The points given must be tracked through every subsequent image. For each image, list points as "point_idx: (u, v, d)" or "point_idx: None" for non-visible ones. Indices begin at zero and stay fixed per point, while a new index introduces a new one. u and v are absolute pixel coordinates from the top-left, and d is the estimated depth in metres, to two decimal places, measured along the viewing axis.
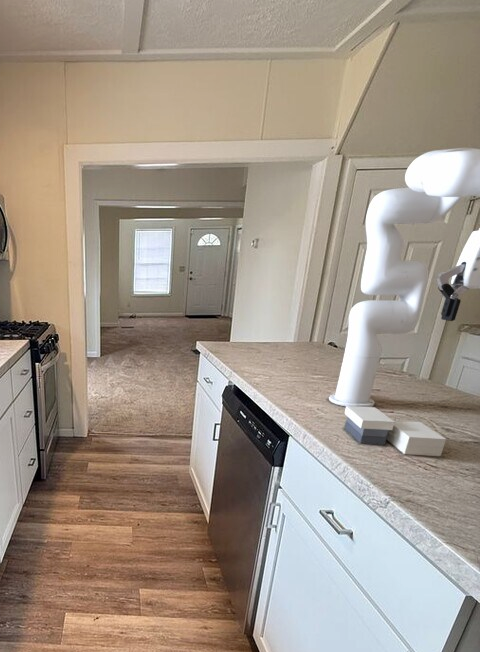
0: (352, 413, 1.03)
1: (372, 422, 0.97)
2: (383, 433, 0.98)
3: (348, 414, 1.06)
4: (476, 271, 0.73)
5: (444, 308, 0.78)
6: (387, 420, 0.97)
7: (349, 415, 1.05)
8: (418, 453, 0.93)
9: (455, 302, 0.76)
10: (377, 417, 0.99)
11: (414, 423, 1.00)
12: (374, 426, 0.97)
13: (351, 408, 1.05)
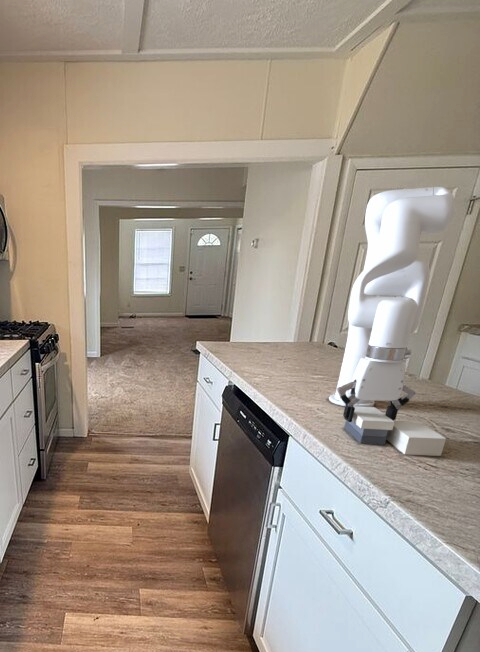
0: None
1: (372, 422, 0.97)
2: (383, 433, 0.98)
3: None
4: (363, 388, 0.97)
5: (344, 411, 1.02)
6: (387, 420, 0.97)
7: None
8: (418, 453, 0.93)
9: (351, 409, 1.00)
10: (377, 417, 0.99)
11: (413, 423, 1.00)
12: (374, 426, 0.97)
13: None
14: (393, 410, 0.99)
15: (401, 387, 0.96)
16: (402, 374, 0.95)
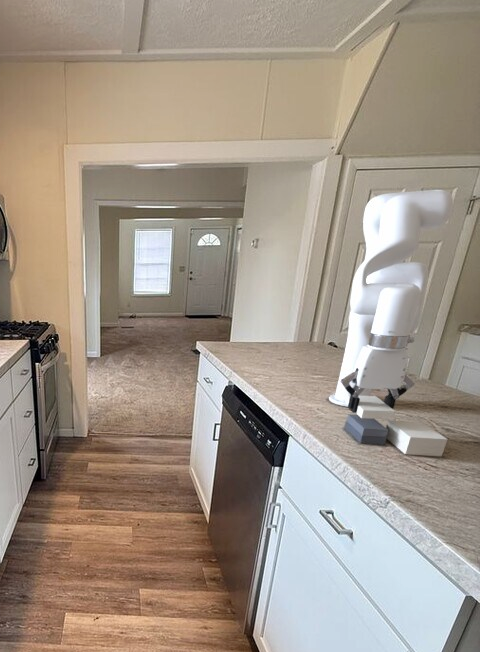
0: None
1: (372, 411, 0.98)
2: (383, 433, 0.98)
3: None
4: (365, 377, 0.97)
5: (349, 402, 1.03)
6: (387, 410, 0.97)
7: None
8: (419, 453, 0.93)
9: (356, 400, 1.01)
10: (377, 406, 0.99)
11: (415, 423, 1.00)
12: (375, 416, 0.98)
13: None
14: (391, 400, 0.99)
15: (403, 375, 0.96)
16: (404, 362, 0.94)
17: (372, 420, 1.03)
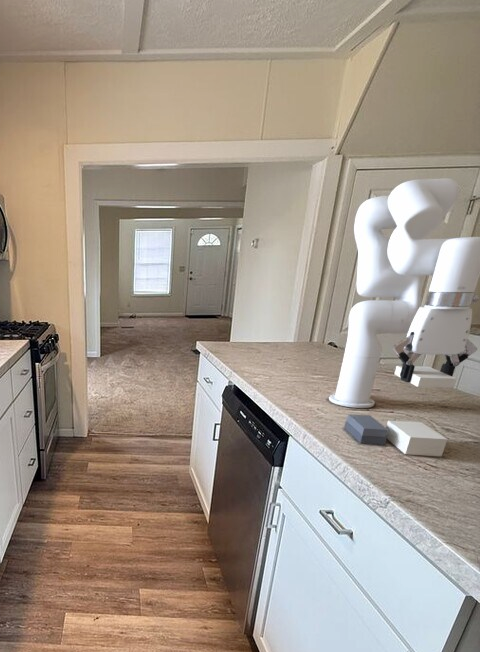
0: None
1: (431, 379, 0.88)
2: (383, 433, 0.98)
3: None
4: (422, 341, 0.88)
5: (402, 371, 0.93)
6: (447, 377, 0.87)
7: None
8: (419, 453, 0.93)
9: (410, 367, 0.91)
10: (435, 374, 0.90)
11: (415, 423, 1.00)
12: (433, 384, 0.88)
13: None
14: (450, 368, 0.89)
15: (466, 338, 0.86)
16: (468, 323, 0.85)
17: (372, 420, 1.03)
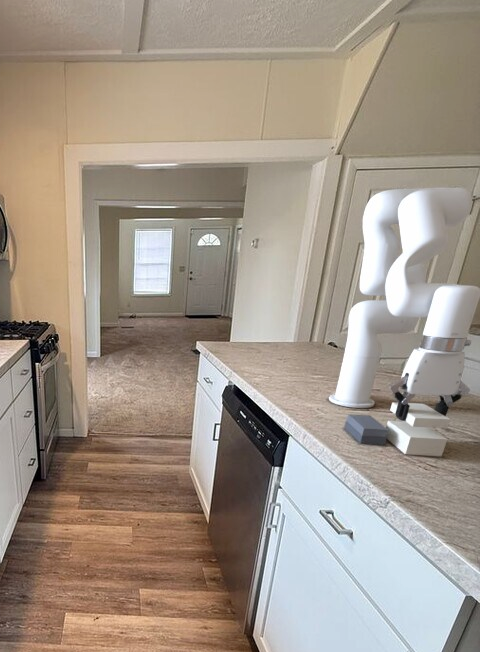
0: None
1: (425, 419, 0.91)
2: (383, 433, 0.98)
3: (395, 411, 0.99)
4: (416, 382, 0.91)
5: (397, 409, 0.96)
6: (441, 418, 0.90)
7: None
8: (419, 453, 0.93)
9: (405, 407, 0.94)
10: (429, 414, 0.93)
11: None
12: (427, 424, 0.91)
13: None
14: (443, 408, 0.92)
15: (459, 381, 0.89)
16: (460, 366, 0.88)
17: (372, 420, 1.03)
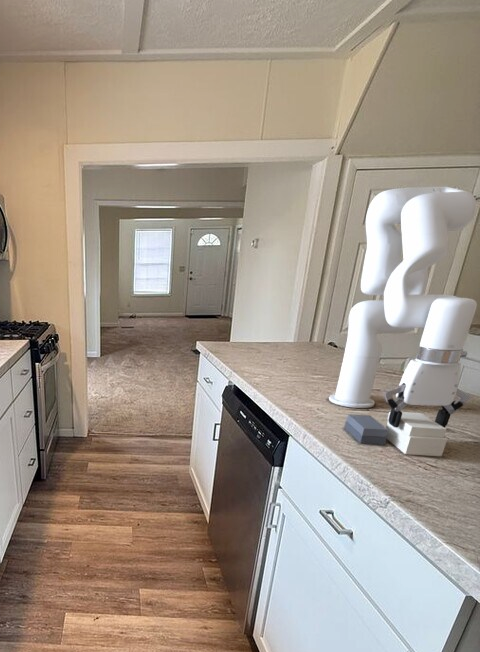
0: None
1: (422, 429, 0.92)
2: (383, 433, 0.98)
3: None
4: (413, 393, 0.92)
5: (390, 416, 0.97)
6: (438, 427, 0.91)
7: None
8: (419, 453, 0.93)
9: (398, 414, 0.95)
10: (426, 423, 0.94)
11: None
12: (424, 433, 0.92)
13: None
14: (445, 415, 0.93)
15: (455, 391, 0.90)
16: (456, 378, 0.89)
17: (372, 420, 1.03)
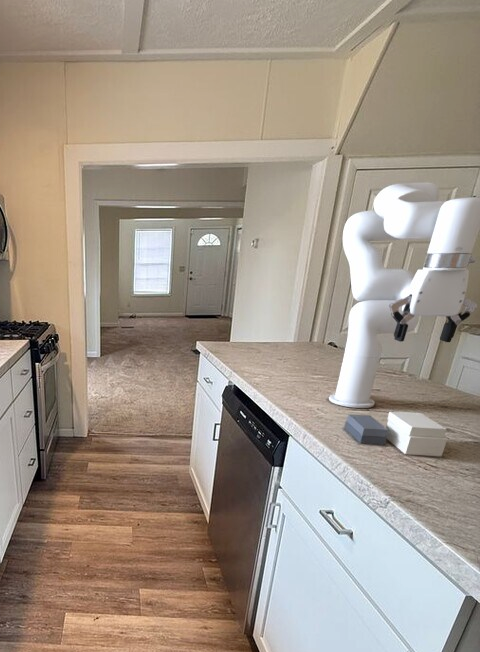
0: (398, 419, 0.98)
1: (422, 429, 0.92)
2: (383, 433, 0.98)
3: (392, 420, 1.00)
4: (419, 302, 0.90)
5: (396, 331, 0.95)
6: (438, 427, 0.91)
7: (394, 421, 0.99)
8: (419, 453, 0.93)
9: (404, 326, 0.93)
10: (426, 423, 0.94)
11: None
12: (424, 433, 0.92)
13: (396, 414, 1.00)
14: (452, 326, 0.92)
15: (462, 299, 0.89)
16: (464, 284, 0.87)
17: (372, 420, 1.03)
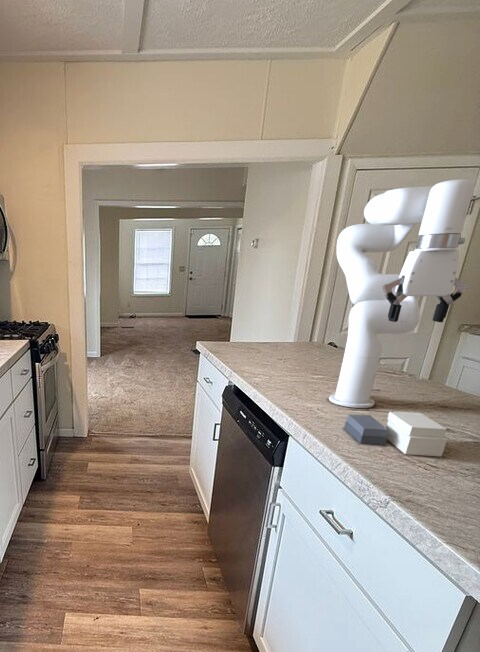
0: (398, 419, 0.98)
1: (422, 429, 0.92)
2: (383, 433, 0.98)
3: (392, 420, 1.00)
4: (412, 283, 0.93)
5: (390, 311, 0.98)
6: (438, 427, 0.91)
7: (394, 421, 0.99)
8: (419, 453, 0.93)
9: (397, 307, 0.96)
10: (426, 423, 0.94)
11: None
12: (424, 433, 0.92)
13: (396, 414, 1.00)
14: (444, 306, 0.94)
15: (453, 279, 0.91)
16: (455, 264, 0.90)
17: (372, 420, 1.03)
